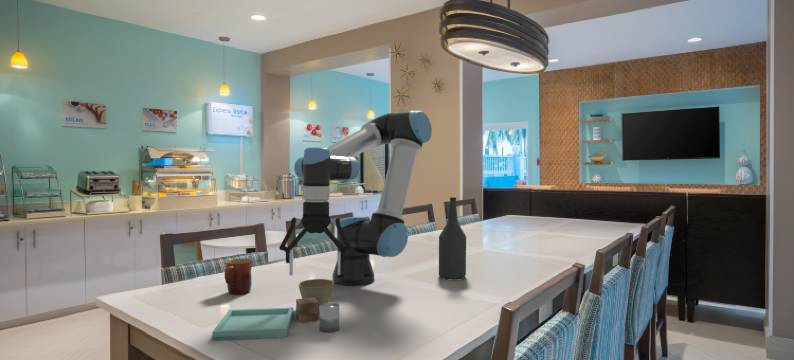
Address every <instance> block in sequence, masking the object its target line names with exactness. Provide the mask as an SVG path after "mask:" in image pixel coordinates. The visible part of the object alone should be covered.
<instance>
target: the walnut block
mask: <svg viewBox="0 0 794 360" xmlns="http://www.w3.org/2000/svg"><path fill="white" fill-rule="evenodd" d="M295 318H296V319H297V321H298V323H299V324H302V323H303V324H304V323H309V322H317V321H318V322H319V310H318V301H317V300H316V299H315V297H312V298H303V299H302V298H296V299H295Z"/></svg>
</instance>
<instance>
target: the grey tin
mask: <svg viewBox="0 0 794 360" xmlns="http://www.w3.org/2000/svg"><path fill="white" fill-rule="evenodd" d="M318 330H319V333H323V334H333V333H337V332H339V330H340V304H339V303H336V302H328V303H324V304H321V305H320V306H319V310H318Z"/></svg>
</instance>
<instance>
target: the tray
mask: <svg viewBox="0 0 794 360" xmlns="http://www.w3.org/2000/svg"><path fill="white" fill-rule="evenodd" d="M293 317H294V307H292V306H291V307H290V306H289V307H270V308H266V307H265V308H239V309H238V308H237V309H235V308H234V309H228V311H227V312H226V314H225V315H224V316H223V317H222V319H220V321H219V323H218V324H217V325H216V326H215V328H214V329H213V330H212V331H211V332H212V333H211V334H212V335H211V336H212V339H211V341H227V340H247V339H248V340H249V339H269V338H270V339H271V338H273V339H274V338H287V337H288V334H289V330H290V327H291V323H292V321H293Z"/></svg>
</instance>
